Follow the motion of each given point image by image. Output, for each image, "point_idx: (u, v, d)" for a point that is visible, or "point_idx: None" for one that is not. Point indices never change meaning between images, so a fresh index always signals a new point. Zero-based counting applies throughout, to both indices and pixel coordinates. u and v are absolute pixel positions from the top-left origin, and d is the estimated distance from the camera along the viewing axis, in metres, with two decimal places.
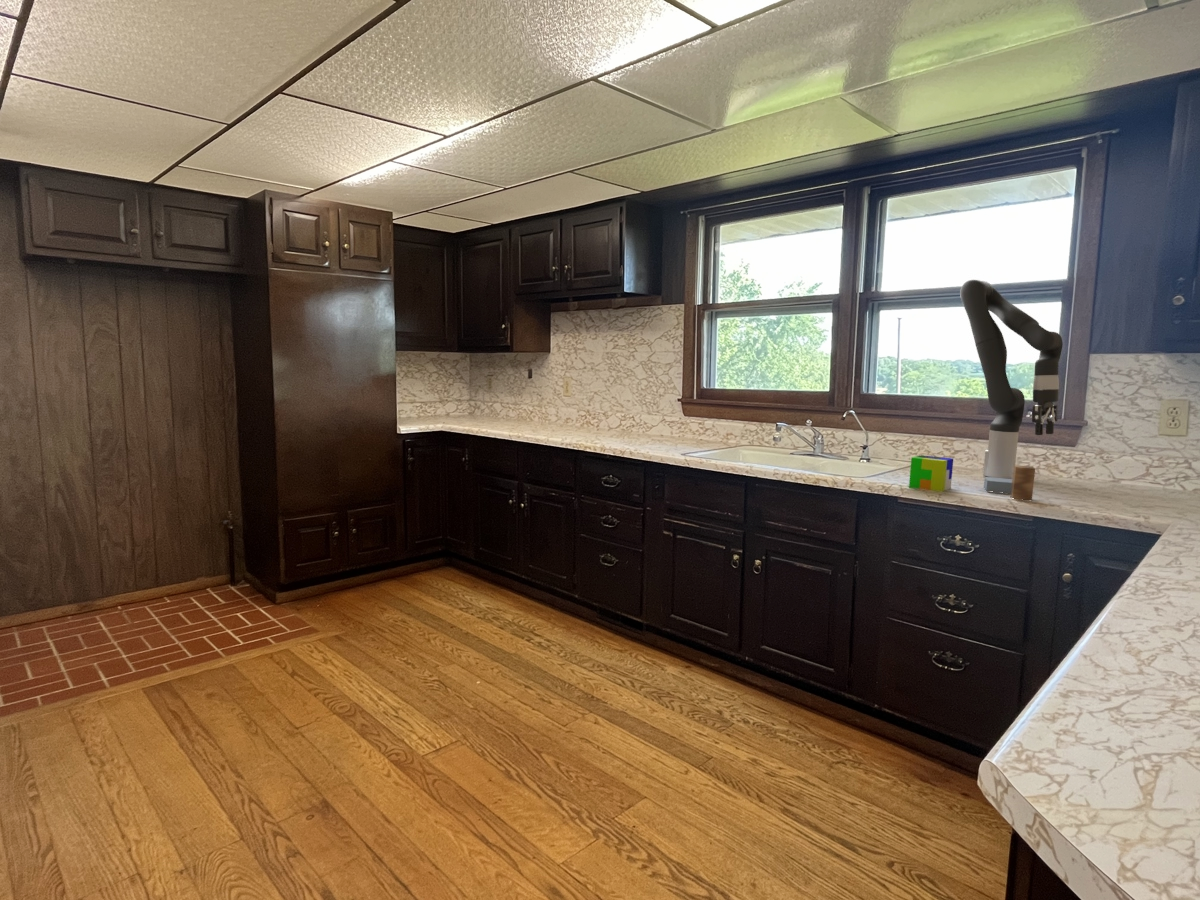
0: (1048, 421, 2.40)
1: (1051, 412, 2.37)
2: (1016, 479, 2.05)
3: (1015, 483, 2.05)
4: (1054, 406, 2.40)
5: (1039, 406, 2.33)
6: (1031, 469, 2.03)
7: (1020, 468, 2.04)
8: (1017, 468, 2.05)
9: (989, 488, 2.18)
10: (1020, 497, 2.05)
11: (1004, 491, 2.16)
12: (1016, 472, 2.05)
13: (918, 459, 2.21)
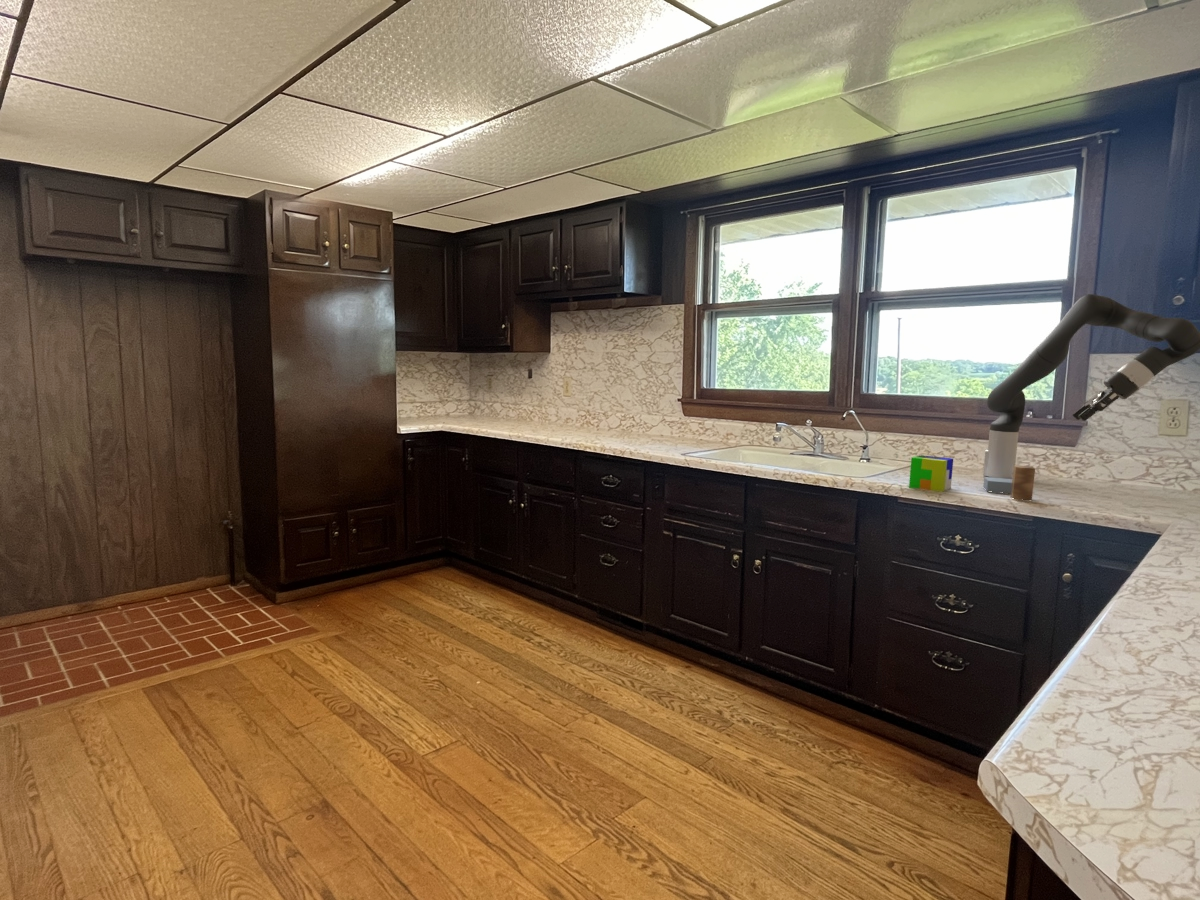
0: (1087, 406, 2.02)
1: (1104, 403, 1.98)
2: (1016, 479, 2.05)
3: (1015, 483, 2.05)
4: None
5: (1117, 396, 1.90)
6: (1031, 469, 2.03)
7: (1020, 468, 2.04)
8: (1017, 468, 2.05)
9: (990, 488, 2.18)
10: (1020, 497, 2.05)
11: (1005, 491, 2.16)
12: (1016, 472, 2.05)
13: (918, 459, 2.21)
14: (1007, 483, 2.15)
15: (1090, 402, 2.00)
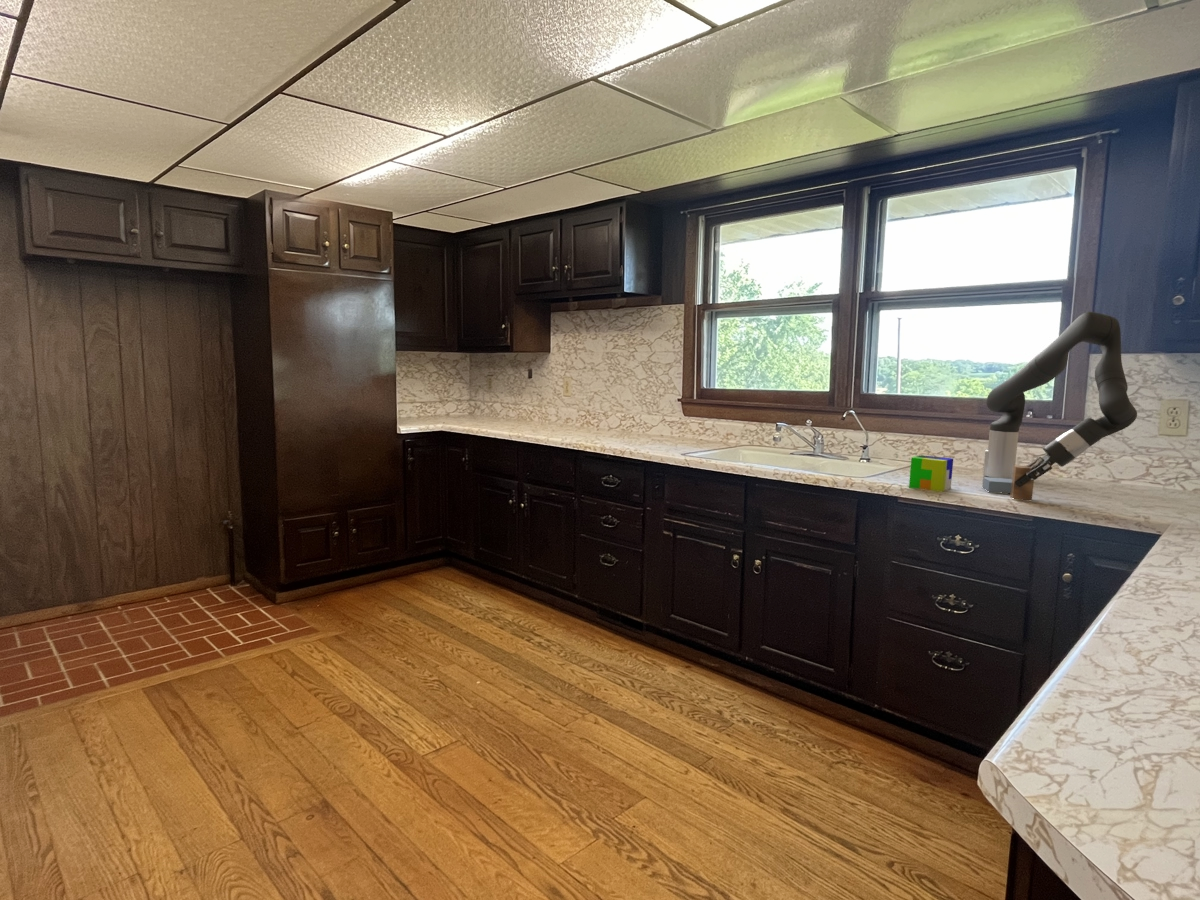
0: None
1: None
2: (1016, 479, 2.05)
3: None
4: None
5: (1050, 468, 1.97)
6: None
7: (1020, 468, 2.04)
8: (1017, 468, 2.05)
9: (991, 488, 2.17)
10: (1020, 497, 2.05)
11: (1006, 491, 2.16)
12: (1016, 472, 2.05)
13: (918, 459, 2.21)
14: (1008, 483, 2.15)
15: (1030, 467, 2.07)
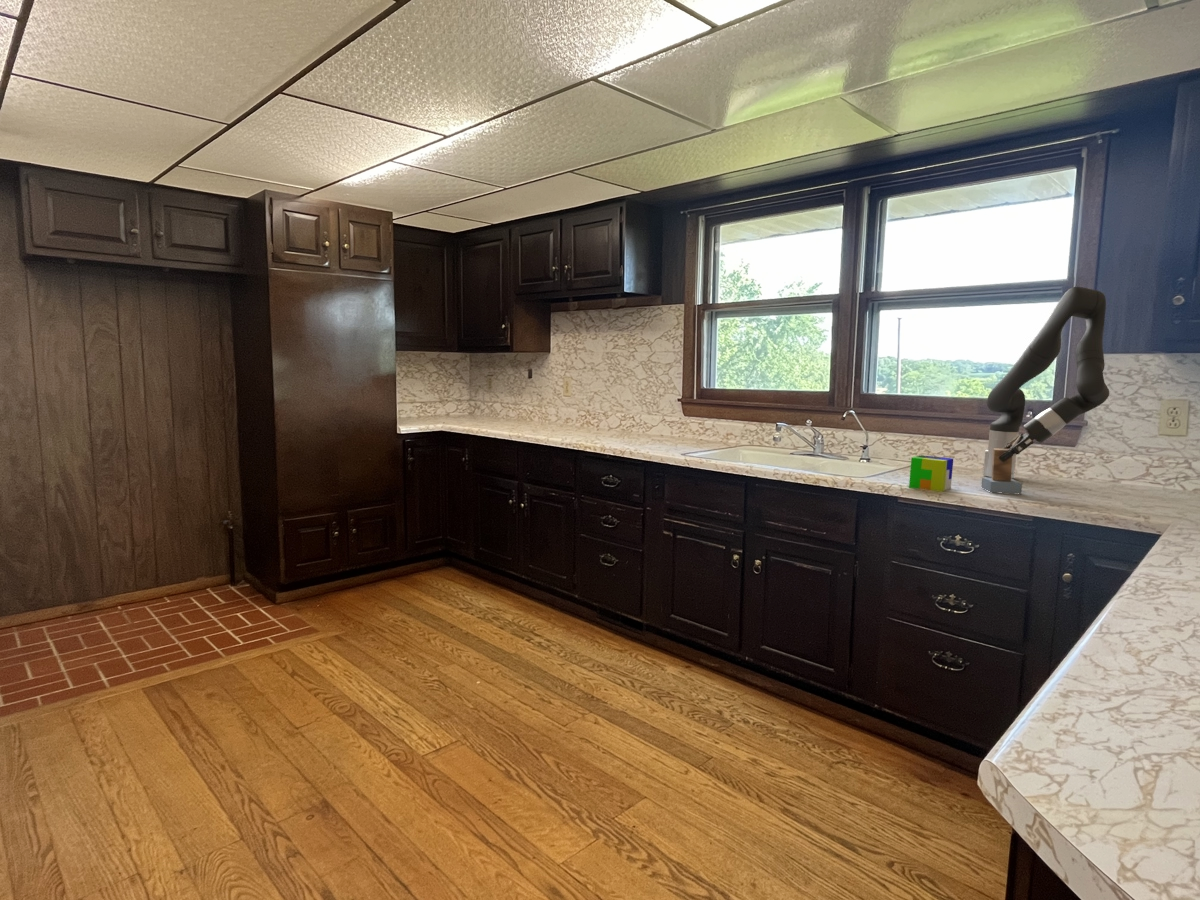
0: (1008, 447, 2.22)
1: None
2: (995, 461, 2.18)
3: (994, 465, 2.18)
4: None
5: (1032, 442, 2.10)
6: None
7: (998, 450, 2.18)
8: (996, 451, 2.18)
9: (993, 489, 2.17)
10: (1000, 478, 2.18)
11: (1007, 491, 2.16)
12: (995, 454, 2.18)
13: (918, 459, 2.21)
14: (1010, 483, 2.15)
15: (1011, 444, 2.20)
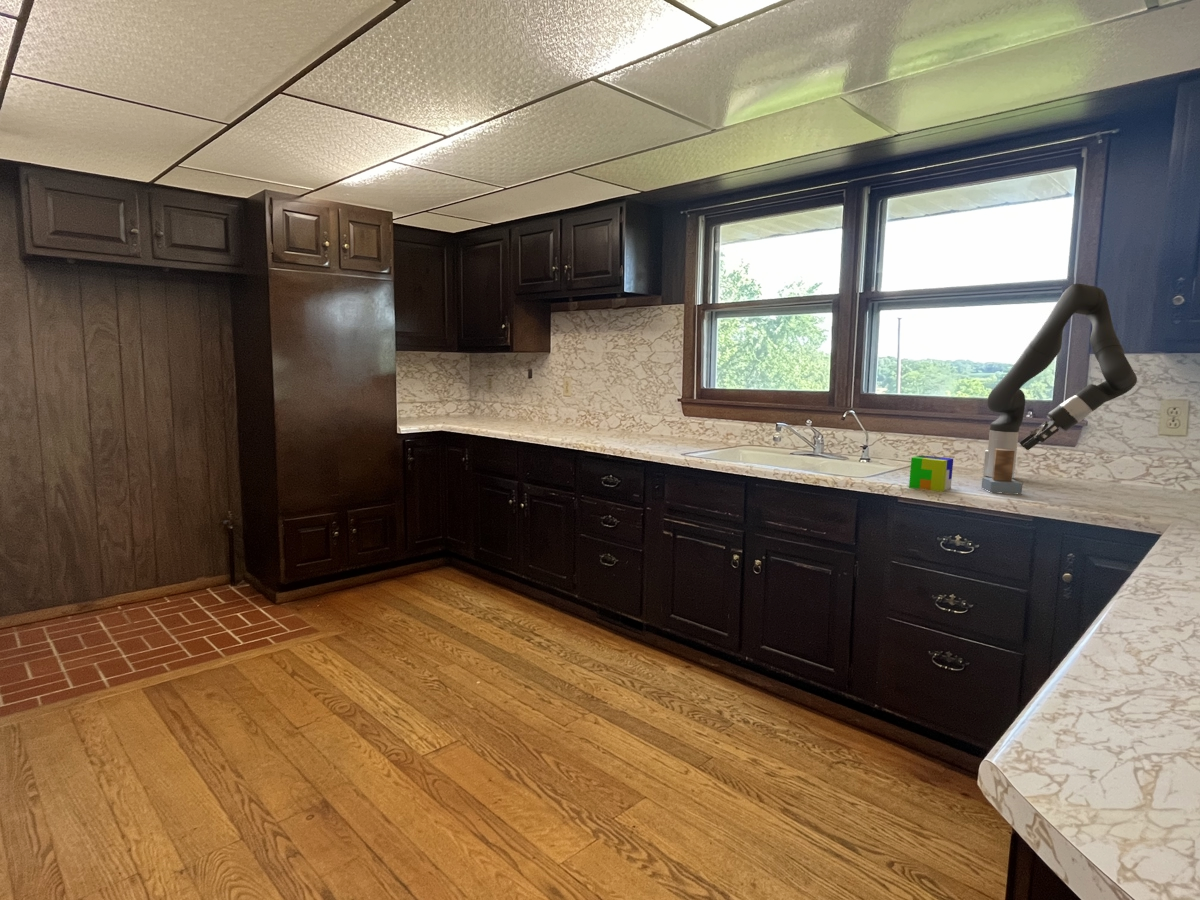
0: (1032, 435, 2.18)
1: None
2: (997, 461, 2.18)
3: (996, 465, 2.18)
4: None
5: (1057, 429, 2.06)
6: (1011, 451, 2.16)
7: (1000, 451, 2.18)
8: (998, 451, 2.18)
9: (993, 489, 2.17)
10: (1000, 478, 2.18)
11: (1007, 492, 2.16)
12: (997, 454, 2.18)
13: (918, 459, 2.21)
14: (1010, 483, 2.15)
15: (1035, 432, 2.17)
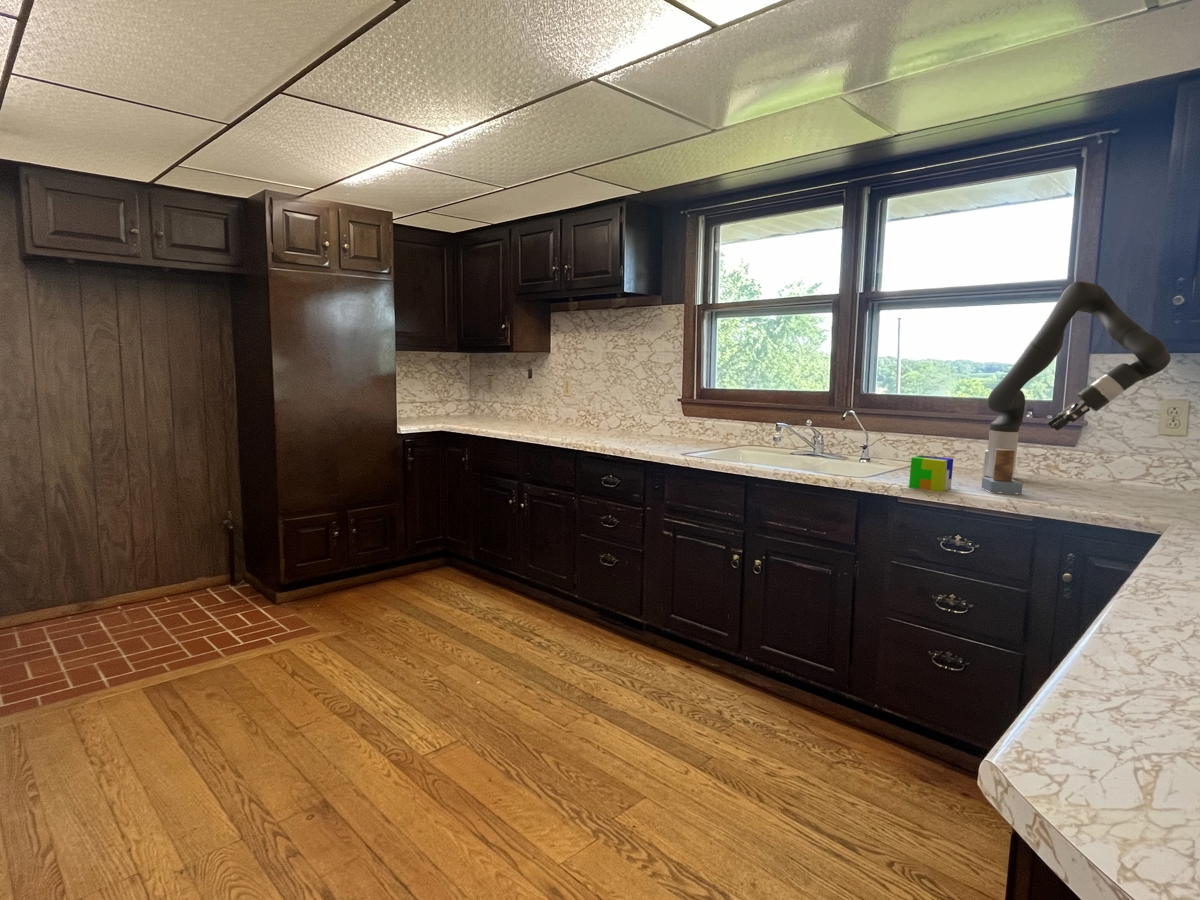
0: (1061, 415, 2.15)
1: None
2: (997, 461, 2.18)
3: (996, 465, 2.18)
4: None
5: (1088, 409, 2.03)
6: (1011, 451, 2.16)
7: (1000, 450, 2.17)
8: (998, 450, 2.18)
9: (993, 489, 2.16)
10: (1001, 478, 2.18)
11: (1008, 491, 2.16)
12: (997, 454, 2.18)
13: (918, 459, 2.21)
14: (1010, 483, 2.15)
15: (1064, 412, 2.14)
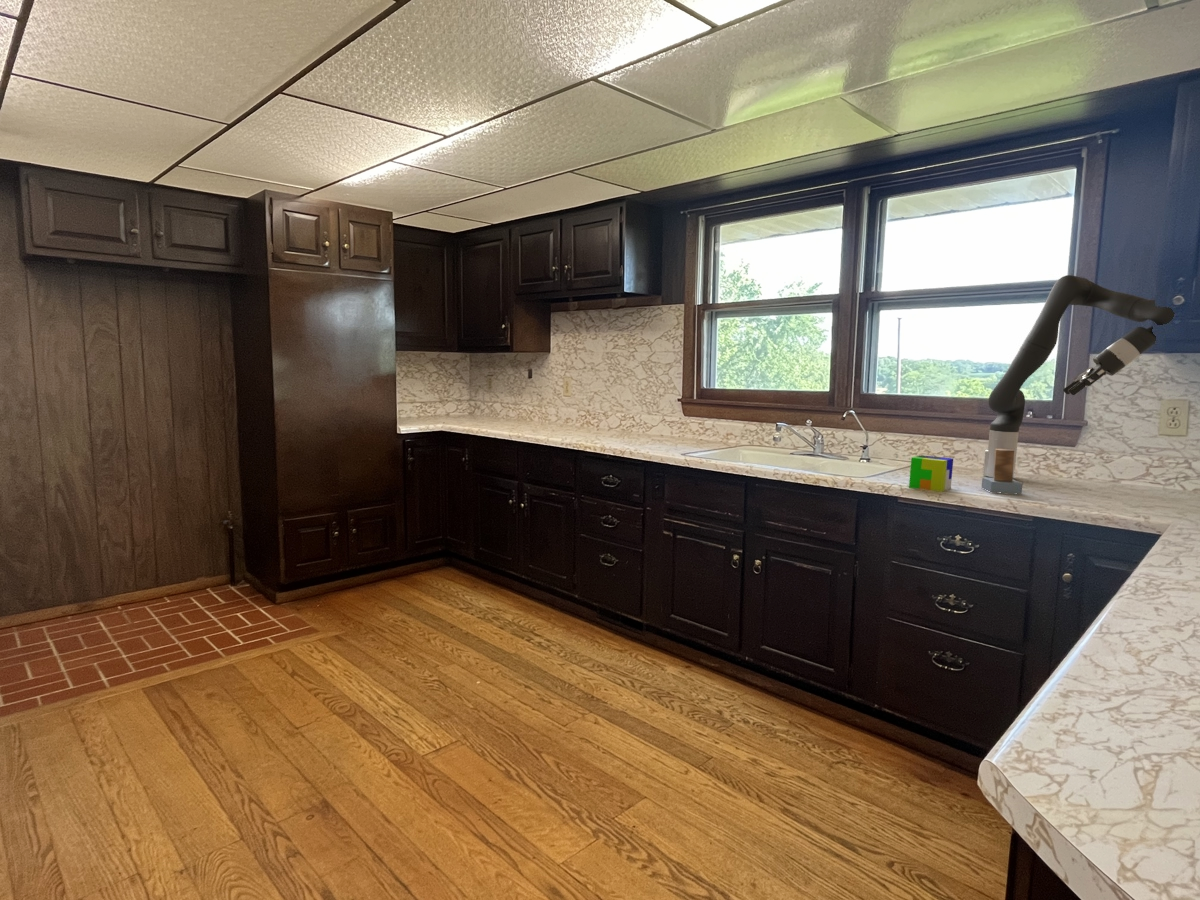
0: (1076, 381, 2.15)
1: None
2: (997, 461, 2.17)
3: (996, 465, 2.18)
4: None
5: (1104, 372, 2.03)
6: (1010, 451, 2.15)
7: (1000, 451, 2.17)
8: (997, 451, 2.17)
9: (993, 489, 2.16)
10: (1001, 478, 2.17)
11: (1008, 491, 2.16)
12: (996, 455, 2.17)
13: (918, 459, 2.21)
14: (1010, 483, 2.15)
15: (1080, 378, 2.14)
